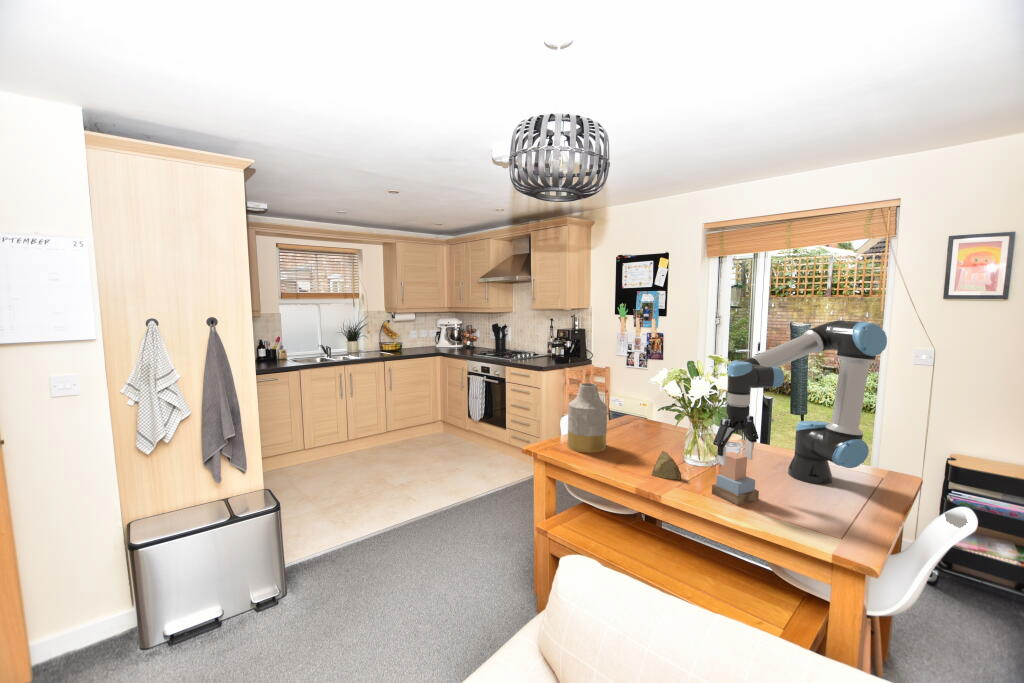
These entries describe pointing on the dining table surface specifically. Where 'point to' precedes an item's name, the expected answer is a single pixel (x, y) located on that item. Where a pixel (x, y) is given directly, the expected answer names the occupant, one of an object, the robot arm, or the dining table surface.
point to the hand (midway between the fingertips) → (735, 461)
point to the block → (734, 466)
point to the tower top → (736, 484)
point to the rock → (666, 467)
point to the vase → (587, 421)
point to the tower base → (735, 496)
